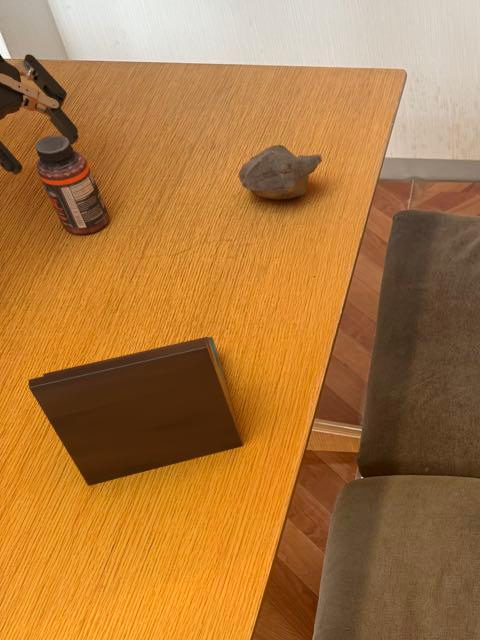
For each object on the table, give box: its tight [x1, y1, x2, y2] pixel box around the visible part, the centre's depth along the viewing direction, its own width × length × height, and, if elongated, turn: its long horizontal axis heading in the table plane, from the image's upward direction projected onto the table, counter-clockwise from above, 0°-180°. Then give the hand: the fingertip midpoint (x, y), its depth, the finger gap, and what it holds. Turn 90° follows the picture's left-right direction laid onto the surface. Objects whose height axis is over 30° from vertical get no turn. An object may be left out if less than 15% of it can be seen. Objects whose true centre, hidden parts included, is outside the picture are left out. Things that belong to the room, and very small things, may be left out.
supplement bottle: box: [34, 134, 110, 235], centre depth 114 cm, size 6×6×11 cm
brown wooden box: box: [27, 336, 244, 486], centre depth 93 cm, size 15×16×14 cm
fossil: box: [238, 144, 323, 200], centre depth 120 cm, size 11×9×8 cm
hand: (48, 155), depth 112 cm, fingers open, 8 cm apart
